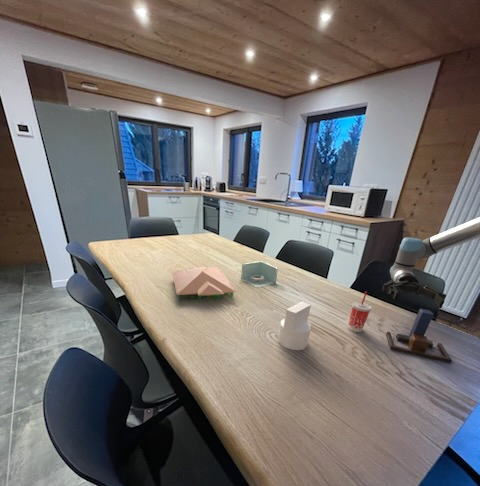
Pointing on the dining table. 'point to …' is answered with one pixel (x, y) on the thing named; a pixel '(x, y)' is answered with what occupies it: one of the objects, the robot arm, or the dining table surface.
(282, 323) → the base with upright slab
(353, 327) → the beverage cup
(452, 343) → the dining table surface
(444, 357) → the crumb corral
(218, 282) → the house
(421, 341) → the orange brown cube
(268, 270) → the right angle wall
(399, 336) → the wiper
